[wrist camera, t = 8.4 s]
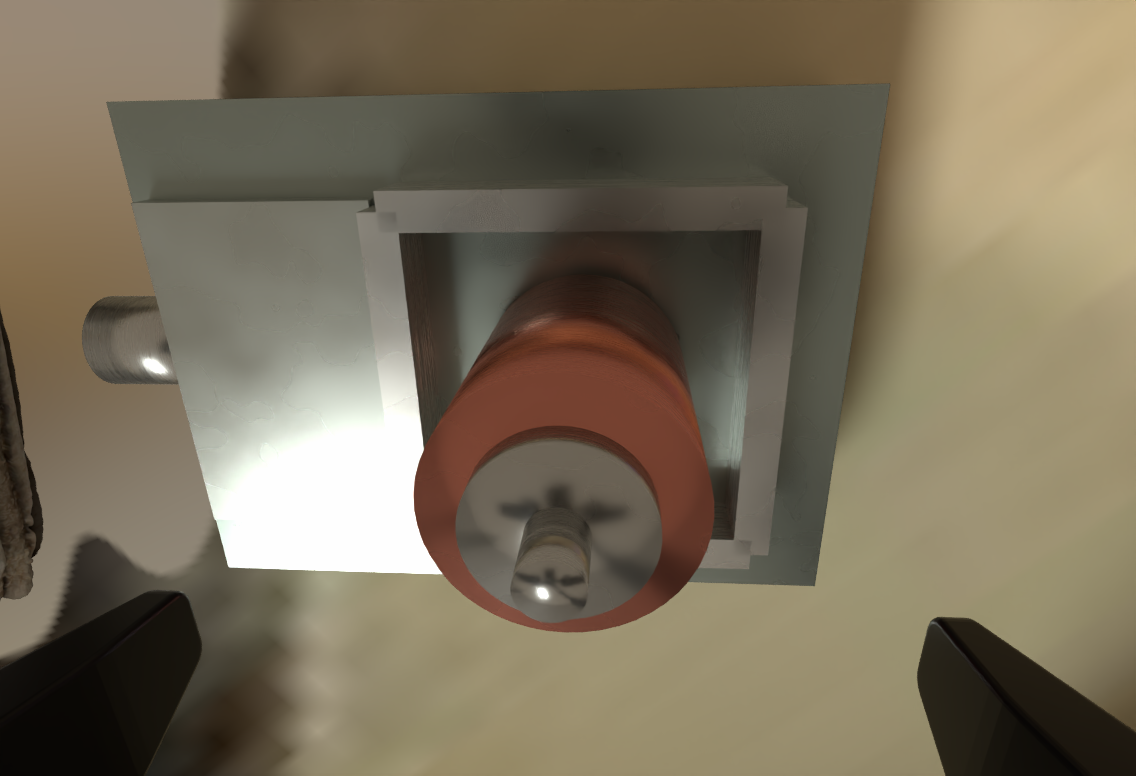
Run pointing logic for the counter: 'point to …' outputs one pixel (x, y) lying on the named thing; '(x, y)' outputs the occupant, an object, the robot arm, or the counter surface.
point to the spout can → (569, 463)
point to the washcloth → (15, 488)
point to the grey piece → (487, 290)
